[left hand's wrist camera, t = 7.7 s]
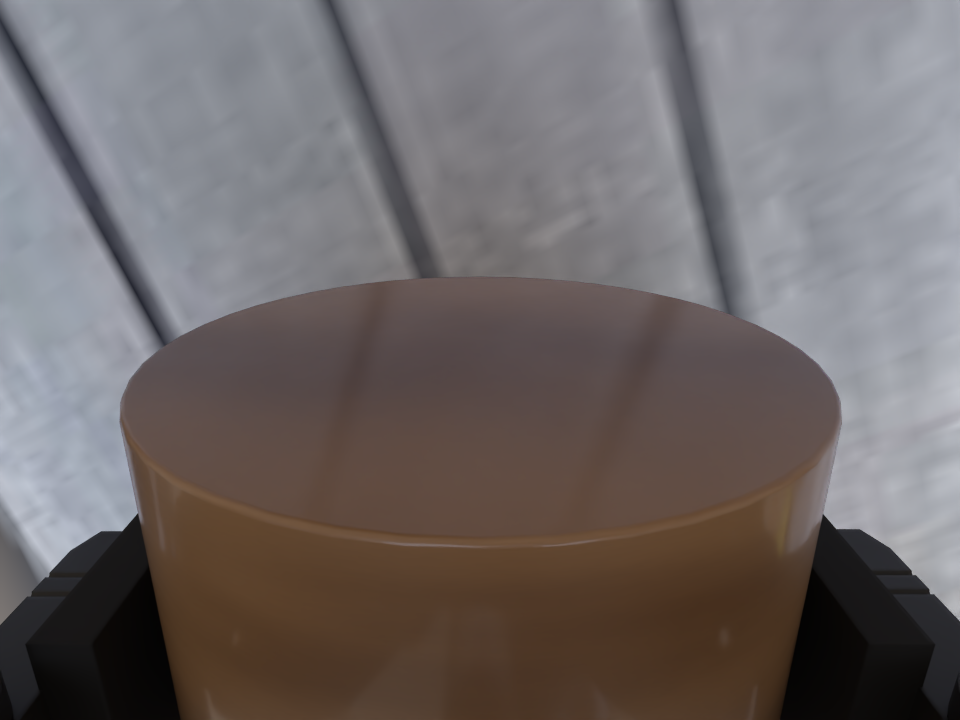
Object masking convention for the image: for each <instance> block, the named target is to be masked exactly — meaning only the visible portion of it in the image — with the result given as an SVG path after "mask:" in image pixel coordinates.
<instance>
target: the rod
mask: <svg viewBox="0 0 960 720" xmlns="http://www.w3.org/2000/svg"><path fill="white" fill-rule="evenodd" d="M841 425H842V416H841V402H840V399H839V396H838V394H837V392H836V389H835V387H834V385H833V383H832V380H831V379H830V378H829V377H828V376H827V374H826V373H825V372H824V371H823V369H822V368H821V367H820V366H819V364H817V363H816V362H815V361H814V360H813V359H811V358H810V357H809V356H808V355H807V354H805V353H804V352H803V351H802V350H800V349H799V348H797V347H796V346H794V345H793V344H791V343H789V342H788V341H786V340H785V339H783V338H781V337H780V336H778V335H776V334H774V333H772V332H769V331H767V330H765V329H763V328H761V327H759V326H757V325H755V324H752V323H750V322H747V321H745V320H742V319H740V318H737V317H735V316H732V315H730V314H727V313H724V312H721V311H718V310H715V309H712V308H709V307H705V306H702V305H698V304H695V303H691V302H687V301H684V300H680V299H676V298H671V297H667V296H662V295H658V294H653V293H648V292H643V291H637V290H632V289H626V288H620V287H613V286H606V285H599V284H591V283H582V282H573V281H562V280H549V279H535V278H514V277H445V278H423V279H409V280H395V281H386V282H376V283H367V284H360V285H352V286H345V287H338V288H333V289H327V290H321V291H316V292H310V293H306V294H301V295H296V296H292V297H287V298H283V299H279V300H275V301H272V302H268V303H264V304H260V305H257V306H254V307H251V308H247V309H244V310H241V311H238V312H235V313H232V314H229V315H227V316H224V317H222V318H219V319H217V320H214V321H212V322H209V323H207V324H204V325H202V326H200V327H198V328H196V329H194V330H192V331H190V332H188V333H186V334H184V335H182V336H180V337H178V338H177V339H175V340H174V341H172V342H170V343H169V344H167V345H166V346H164V347H162V348H161V349H159V350H158V351H157V352H156V353H155V354H154V355H152V356H151V357H150V358H149V359H148V360H146V361H145V362H144V363H143V364H142V365H141V366H140V368H139V369H138V370H137V371H136V372H135V374H134V375H133V376H132V377H131V379H130V380H129V382H128V385H127V387H126V389H125V392H124V394H123V396H122V399H121V403H120V427H121V431H122V436H123V441H124V446H125V451H126V456H127V461H128V466H129V471H130V475H131V480H132V485H133V490H134V495H135V500H136V505H137V510H138V514H139V519H140V524H141V529H142V534H143V539H144V544H145V549H146V554H147V558H148V563H149V568H150V573H151V578H152V583H153V588H154V593H155V597H156V602H157V607H158V612H159V617H160V622H161V627H162V632H163V637H164V641H165V646H166V651H167V656H168V661H169V666H170V671H171V676H172V680H173V685H174V690H175V695H176V700H177V705H178V710H179V715H180V720H780V717H781V712H782V707H783V702H784V698H785V693H786V688H787V683H788V679H789V674H790V669H791V664H792V659H793V655H794V650H795V645H796V640H797V635H798V631H799V626H800V621H801V616H802V612H803V607H804V602H805V597H806V592H807V588H808V583H809V578H810V573H811V568H812V564H813V559H814V554H815V549H816V544H817V540H818V535H819V530H820V525H821V521H822V516H823V511H824V506H825V501H826V497H827V492H828V487H829V482H830V477H831V473H832V468H833V463H834V458H835V454H836V449H837V444H838V439H839V434H840V430H841Z"/></svg>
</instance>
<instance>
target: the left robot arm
mask: <svg viewBox="0 0 960 720" xmlns="http://www.w3.org/2000/svg"><path fill="white" fill-rule="evenodd" d="M0 720H180V715H179V710H178V705H177V700H176V695H175V690H174V685H173V680H172V676H171V671H170V666H169V661H168V656H167V651H166V646H165V641H164V637H163V632H162V627H161V622H160V617H159V612H158V607H157V602H156V597H155V593H154V588H153V583H152V578H151V573H150V568H149V563H148V558H147V554H146V549H145V544H144V539H143V534H142V529H141V524H140V519H139V514H137V515H136V516H135V517H134V519H133V520H132V521H131V522H130V523H129V524H128V526H127V527H126V528H125V529H124V530H123V531H101V532H100V533H98V534H96V535H95V536H93V537H92V538H90V539H88V540H87V541H85V542H84V543H82V544H80V545H79V546H77V547H76V548H74V549H72V550H71V551H70V552H69V553H68V554H67V555H66V556H65V557H64V558H63V559H62V560H61V561H60V562H59V564H58V565H57V566H56V567H55V568H54V569H53V570H52V571H51V572H50V575H49V578H44V579H43V580H42V582H41V583H40V584H39V585H38V586H37V587H36V588H35V589H34V590H33V591H32V595H31V597H26V599H25V600H24V601H23V602H22V603H21V604H20V605H19V606H18V607H17V608H16V609H15V610H14V611H13V612H12V613H11V614H10V615H9V616H8V618H7V619H6V620H5V621H4V622H3V623H2V624H1V625H0ZM780 720H960V621H959V620H958V619H957V618H956V617H955V616H954V615H953V614H952V613H951V612H950V611H949V610H948V609H947V608H946V606H945V605H944V604H943V603H942V602H941V601H940V600H939V599H938V598H937V597H936V596H935V595H934V594H930V592H929V589H928V588H927V586H926V585H925V584H924V583H923V582H922V581H921V580H920V579H919V578H918V577H917V576H916V575H912V571H911V570H910V569H909V568H908V566H907V565H906V564H905V563H904V562H903V561H902V560H901V559H900V558H899V557H898V556H897V555H896V554H895V553H894V552H893V551H892V550H891V549H890V548H889V547H887V546H886V545H884V544H882V543H881V542H879V541H878V540H876V539H874V538H873V537H871V536H870V535H868V534H866V533H865V532H863V531H862V530H860V529H836V528H835V527H834V526H833V525H832V524H831V523H830V522H829V520H828V519H827V518H826V517H825V516H824V515H823V516H822V521H821V525H820V530H819V535H818V540H817V544H816V549H815V554H814V559H813V564H812V568H811V573H810V578H809V583H808V588H807V592H806V597H805V602H804V607H803V612H802V616H801V621H800V626H799V631H798V635H797V640H796V645H795V650H794V655H793V659H792V664H791V669H790V674H789V679H788V683H787V688H786V693H785V698H784V702H783V707H782V712H781V717H780Z"/></svg>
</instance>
